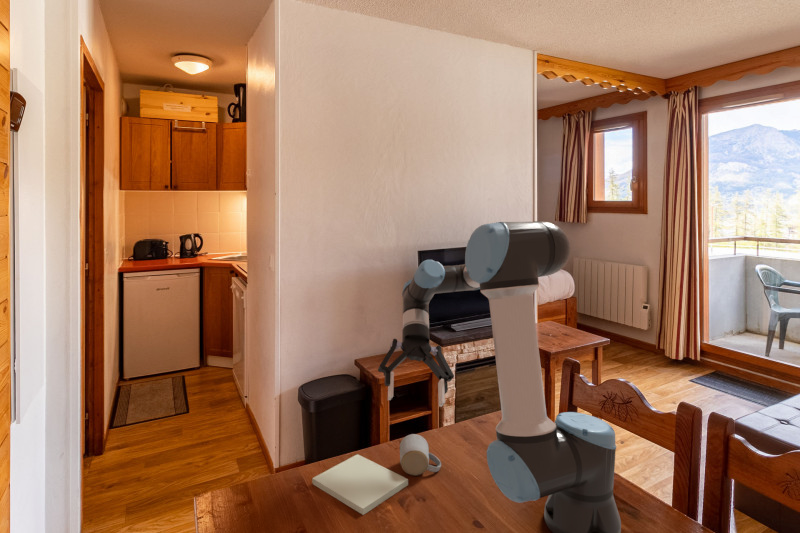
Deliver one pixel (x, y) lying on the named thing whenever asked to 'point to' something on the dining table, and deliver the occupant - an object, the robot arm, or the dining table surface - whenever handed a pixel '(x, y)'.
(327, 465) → the dining table surface
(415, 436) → the ceramic mug
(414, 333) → the robot arm
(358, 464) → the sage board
